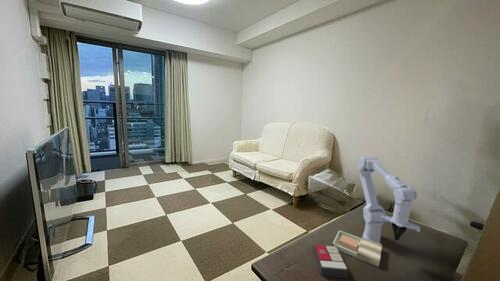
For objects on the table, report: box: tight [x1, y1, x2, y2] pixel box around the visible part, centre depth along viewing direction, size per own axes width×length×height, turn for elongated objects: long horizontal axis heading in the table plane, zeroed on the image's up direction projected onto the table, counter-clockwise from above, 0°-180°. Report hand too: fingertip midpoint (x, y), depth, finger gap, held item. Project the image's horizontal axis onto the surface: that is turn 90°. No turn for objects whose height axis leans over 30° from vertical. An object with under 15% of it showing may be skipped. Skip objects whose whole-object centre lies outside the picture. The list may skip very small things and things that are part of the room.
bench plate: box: [356, 236, 383, 268], centre depth 98 cm, size 14×9×3 cm, turn 144°
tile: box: [339, 235, 359, 252], centre depth 104 cm, size 6×8×2 cm
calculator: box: [312, 244, 349, 279], centre depth 92 cm, size 11×4×15 cm
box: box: [331, 230, 362, 259], centre depth 104 cm, size 14×11×2 cm
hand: (396, 239), depth 95 cm, fingers closed
